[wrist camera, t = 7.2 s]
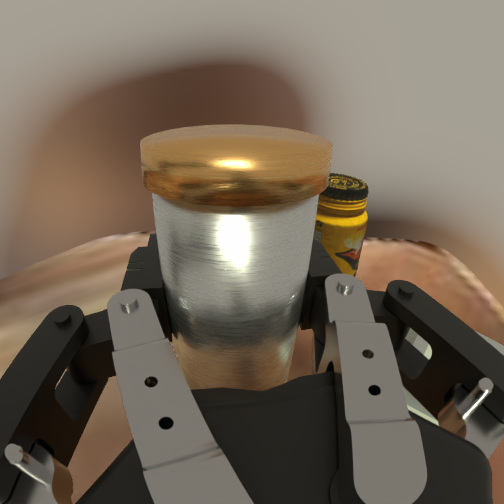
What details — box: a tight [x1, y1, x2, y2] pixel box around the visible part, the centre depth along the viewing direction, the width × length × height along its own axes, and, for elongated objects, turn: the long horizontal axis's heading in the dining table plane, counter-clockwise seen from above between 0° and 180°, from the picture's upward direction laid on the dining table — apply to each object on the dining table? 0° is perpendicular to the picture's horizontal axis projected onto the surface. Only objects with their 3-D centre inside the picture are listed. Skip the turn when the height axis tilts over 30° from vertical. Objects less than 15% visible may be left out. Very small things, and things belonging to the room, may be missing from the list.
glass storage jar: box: [140, 125, 333, 391], centre depth 10 cm, size 5×5×12 cm
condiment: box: [313, 173, 368, 277], centre depth 28 cm, size 7×8×12 cm
